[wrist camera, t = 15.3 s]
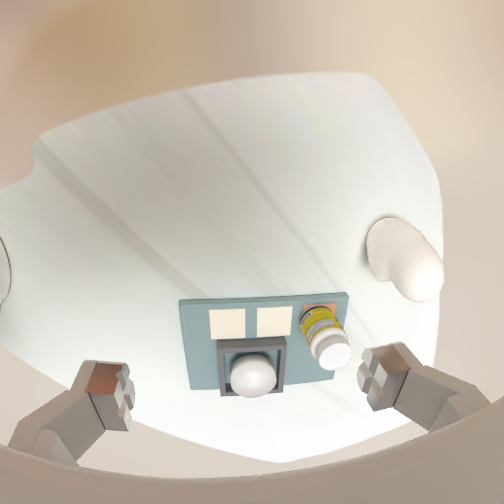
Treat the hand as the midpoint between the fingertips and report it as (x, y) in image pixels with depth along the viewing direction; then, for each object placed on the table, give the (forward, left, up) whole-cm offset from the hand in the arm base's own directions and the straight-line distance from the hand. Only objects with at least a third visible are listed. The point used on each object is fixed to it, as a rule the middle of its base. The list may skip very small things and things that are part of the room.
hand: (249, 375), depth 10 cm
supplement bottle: (+11, -15, -26) cm, 32 cm away
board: (+5, -19, -27) cm, 34 cm away
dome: (+3, -22, -26) cm, 34 cm away
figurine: (+21, -5, -27) cm, 35 cm away
